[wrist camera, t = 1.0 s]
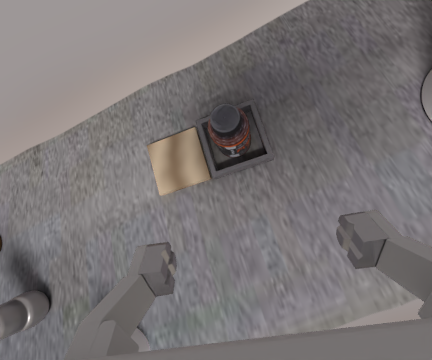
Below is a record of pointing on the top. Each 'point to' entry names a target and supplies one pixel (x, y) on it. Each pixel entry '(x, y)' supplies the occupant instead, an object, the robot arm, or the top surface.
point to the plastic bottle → (22, 312)
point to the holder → (267, 157)
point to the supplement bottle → (230, 130)
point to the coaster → (178, 161)
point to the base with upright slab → (140, 340)
